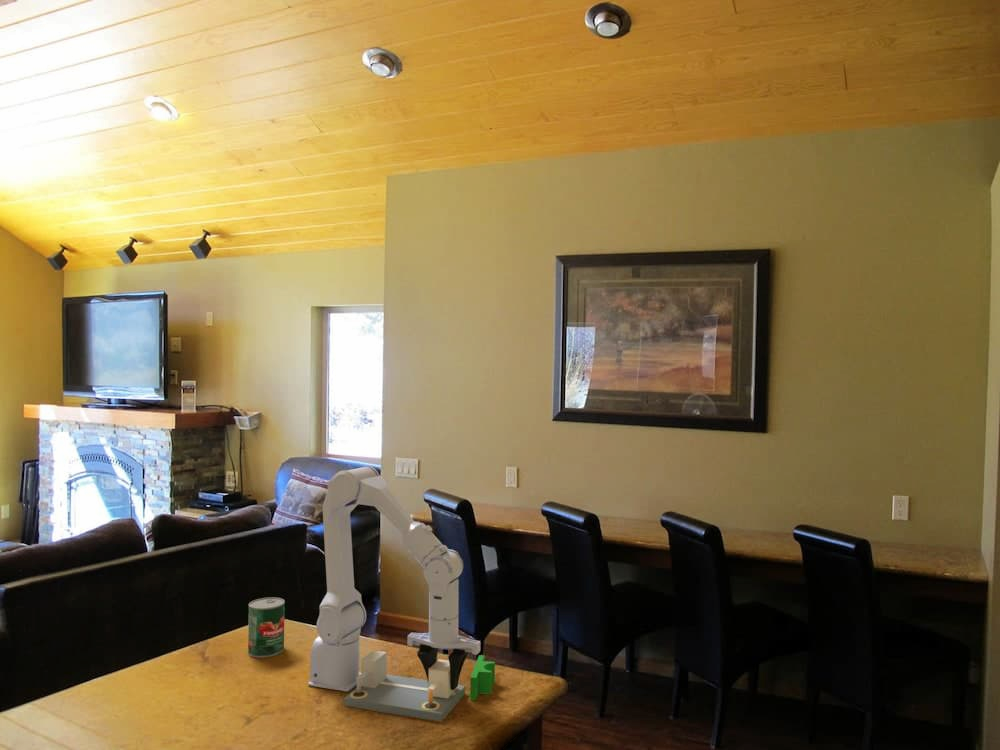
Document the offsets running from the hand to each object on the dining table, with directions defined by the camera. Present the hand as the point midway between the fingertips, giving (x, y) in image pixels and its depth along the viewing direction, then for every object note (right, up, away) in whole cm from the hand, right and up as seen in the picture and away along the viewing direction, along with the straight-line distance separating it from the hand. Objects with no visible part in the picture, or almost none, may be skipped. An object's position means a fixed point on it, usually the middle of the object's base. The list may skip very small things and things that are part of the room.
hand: (443, 686), depth 131 cm
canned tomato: (-43, -3, +24) cm, 49 cm away
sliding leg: (-1, -1, -2) cm, 2 cm away
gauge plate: (-7, -3, 0) cm, 8 cm away
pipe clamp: (+8, -3, +5) cm, 10 cm away
